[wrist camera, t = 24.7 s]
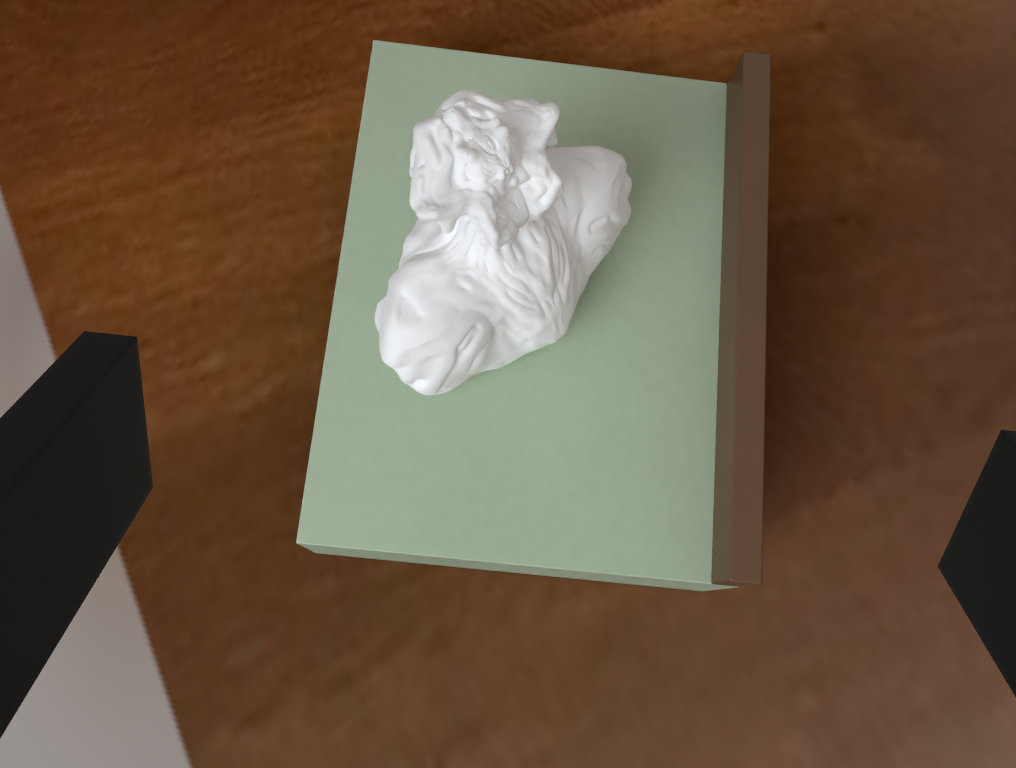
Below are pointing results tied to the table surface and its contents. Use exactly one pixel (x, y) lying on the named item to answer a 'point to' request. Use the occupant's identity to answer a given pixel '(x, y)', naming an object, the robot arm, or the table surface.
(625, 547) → the shoe shelf
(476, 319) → the bust
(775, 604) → the table surface
